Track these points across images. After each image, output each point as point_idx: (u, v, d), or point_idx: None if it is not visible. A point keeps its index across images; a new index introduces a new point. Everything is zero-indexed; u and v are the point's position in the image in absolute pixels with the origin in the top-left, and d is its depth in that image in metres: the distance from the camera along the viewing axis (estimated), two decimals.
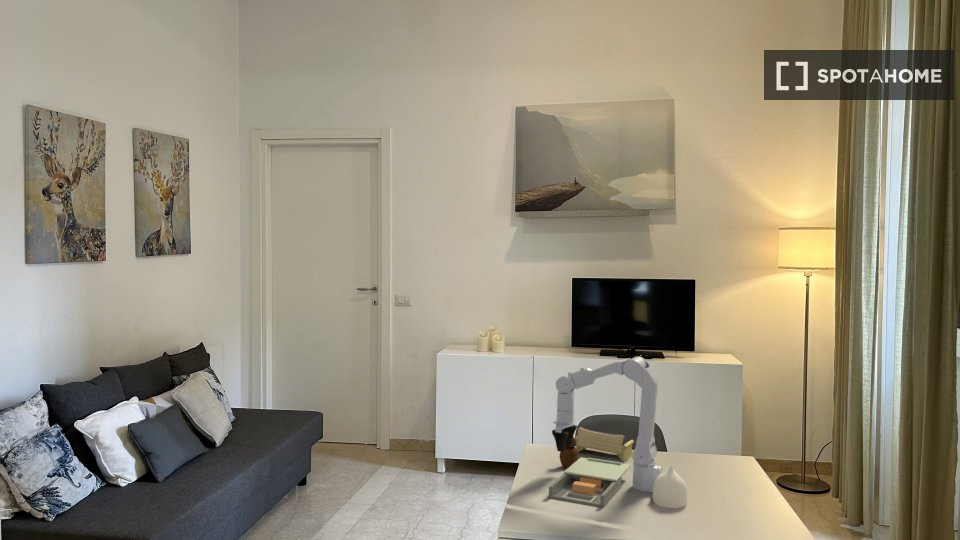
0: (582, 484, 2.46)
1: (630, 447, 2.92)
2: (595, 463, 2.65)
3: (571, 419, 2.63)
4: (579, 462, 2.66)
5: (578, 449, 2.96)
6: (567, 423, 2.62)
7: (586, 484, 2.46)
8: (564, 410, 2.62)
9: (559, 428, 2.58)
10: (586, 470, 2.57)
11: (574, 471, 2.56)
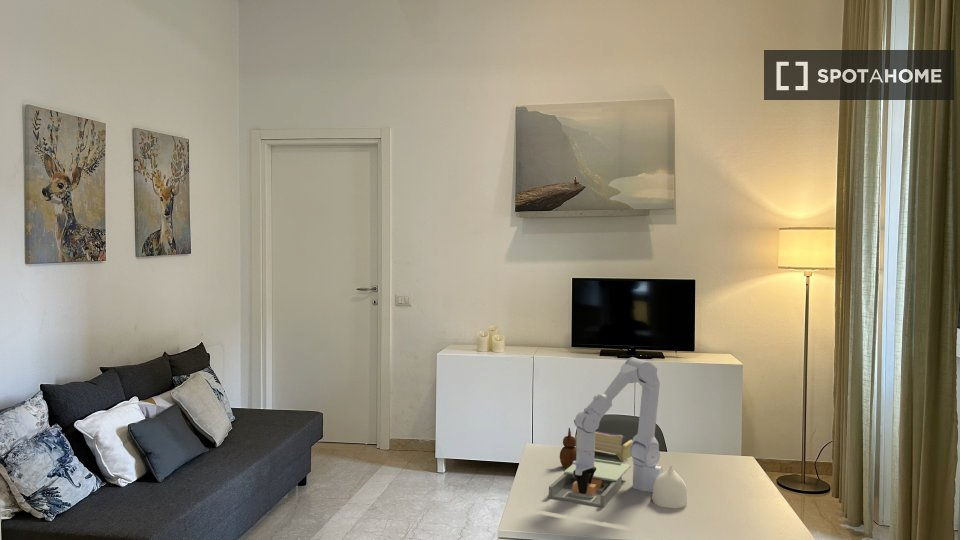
0: None
1: (629, 447, 2.92)
2: (595, 463, 2.65)
3: (592, 460, 2.44)
4: None
5: None
6: (588, 464, 2.43)
7: None
8: (591, 450, 2.43)
9: (579, 470, 2.39)
10: None
11: None
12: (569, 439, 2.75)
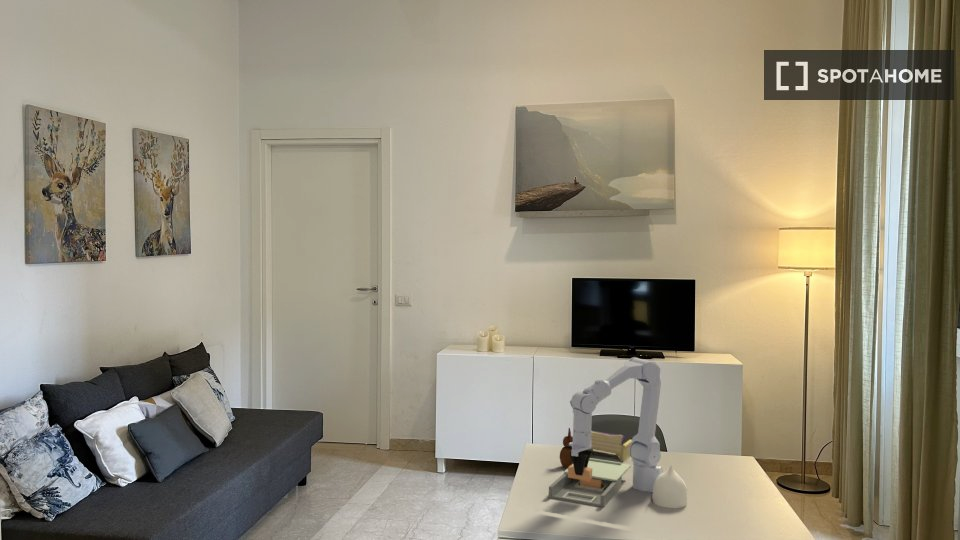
0: None
1: None
2: (595, 463, 2.65)
3: (588, 441, 2.39)
4: None
5: None
6: (584, 446, 2.39)
7: None
8: (588, 431, 2.39)
9: (576, 451, 2.35)
10: None
11: None
12: (569, 439, 2.75)
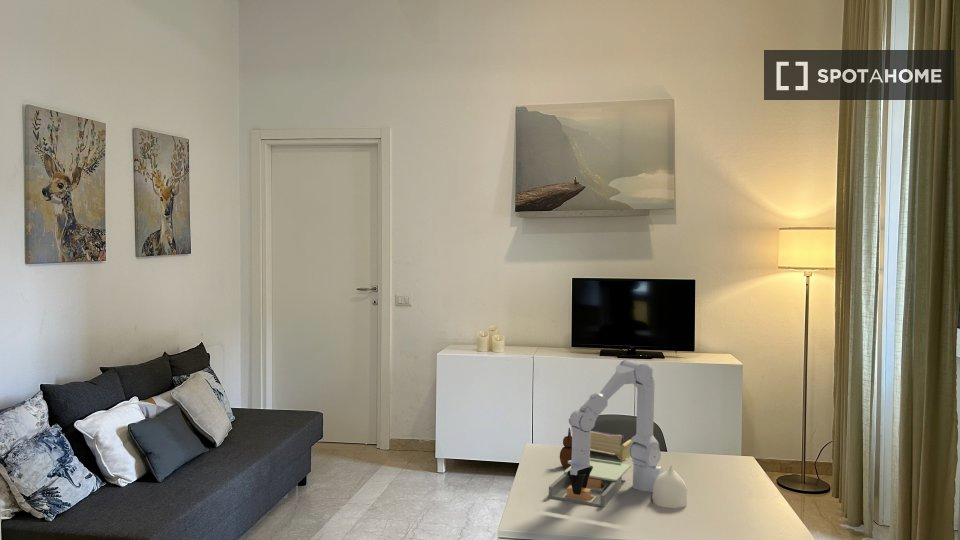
0: None
1: (628, 447, 2.92)
2: (595, 463, 2.65)
3: (587, 459, 2.39)
4: None
5: None
6: (583, 464, 2.38)
7: None
8: (587, 449, 2.39)
9: (574, 470, 2.34)
10: None
11: None
12: (569, 439, 2.75)
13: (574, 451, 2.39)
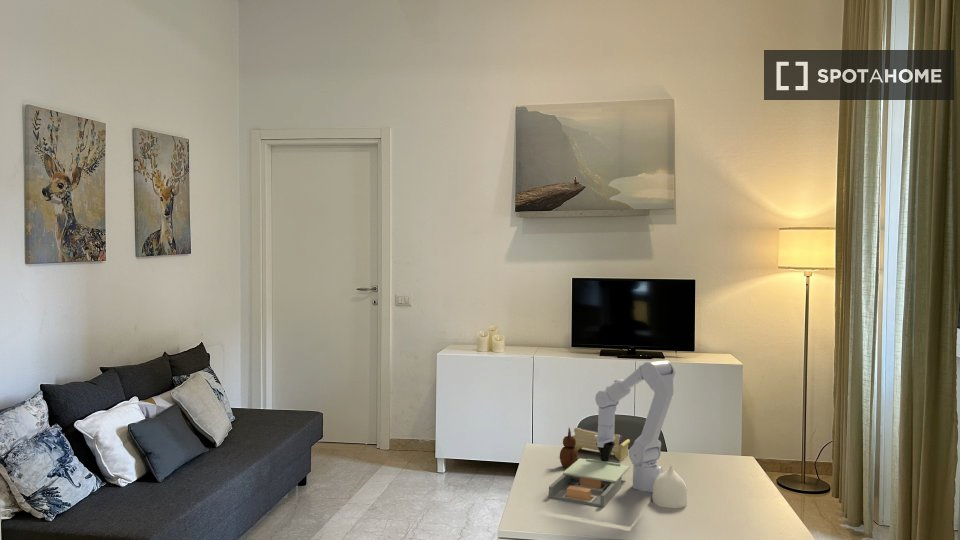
0: (576, 489, 2.41)
1: (626, 446, 2.92)
2: (594, 464, 2.64)
3: (612, 434, 2.65)
4: (578, 463, 2.65)
5: None
6: (608, 438, 2.65)
7: (581, 488, 2.41)
8: (602, 424, 2.65)
9: (601, 443, 2.61)
10: (585, 471, 2.56)
11: (573, 472, 2.54)
12: (569, 439, 2.75)
13: (600, 426, 2.66)
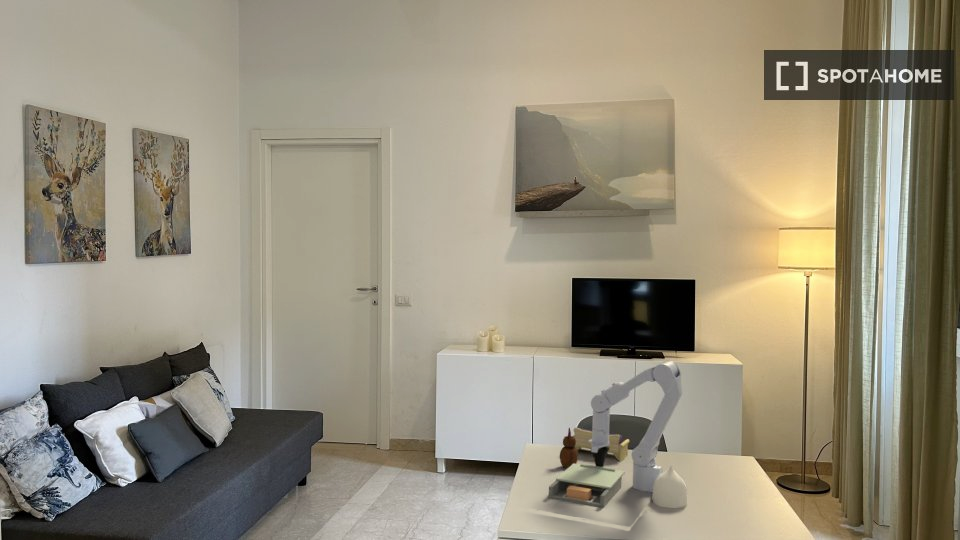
0: (576, 489, 2.41)
1: (626, 446, 2.92)
2: (588, 469, 2.58)
3: (607, 438, 2.59)
4: (572, 468, 2.58)
5: None
6: (603, 442, 2.58)
7: (581, 488, 2.41)
8: (599, 429, 2.58)
9: (595, 448, 2.54)
10: (578, 477, 2.49)
11: (566, 478, 2.48)
12: (569, 439, 2.75)
13: (594, 431, 2.59)
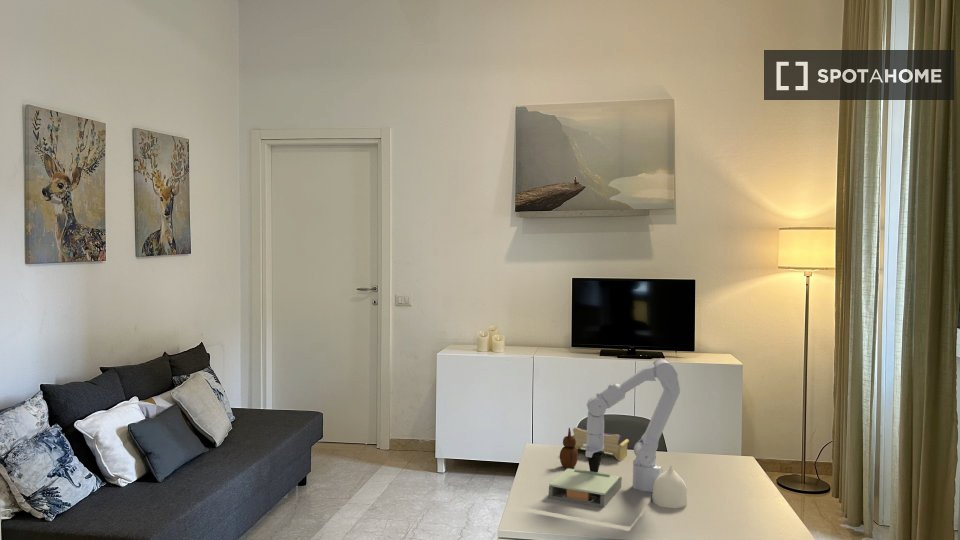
0: None
1: (625, 446, 2.92)
2: (582, 475, 2.52)
3: (601, 443, 2.53)
4: (566, 474, 2.53)
5: None
6: (597, 447, 2.52)
7: None
8: (597, 434, 2.52)
9: (590, 453, 2.49)
10: (572, 483, 2.43)
11: (560, 484, 2.42)
12: (569, 439, 2.75)
13: (589, 435, 2.53)
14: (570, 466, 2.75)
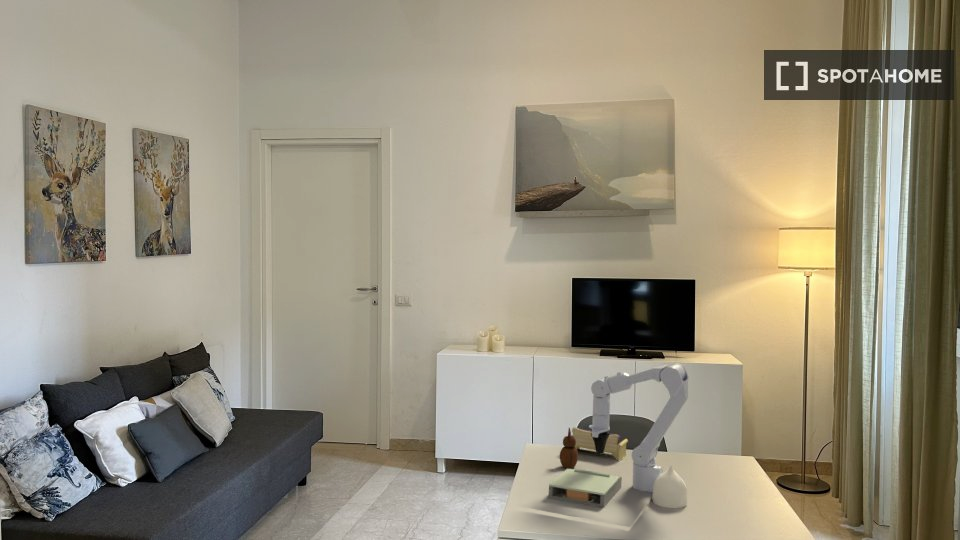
0: None
1: (624, 446, 2.93)
2: (582, 475, 2.52)
3: (607, 424, 2.59)
4: (565, 474, 2.52)
5: None
6: (603, 428, 2.58)
7: None
8: (600, 414, 2.58)
9: (596, 433, 2.54)
10: (572, 483, 2.43)
11: (560, 484, 2.42)
12: (569, 439, 2.75)
13: (595, 416, 2.59)
14: (570, 466, 2.75)
